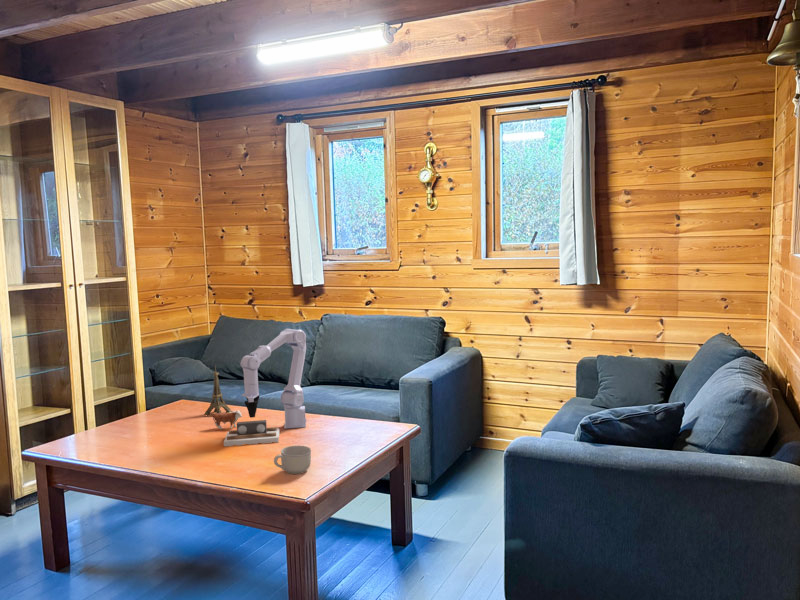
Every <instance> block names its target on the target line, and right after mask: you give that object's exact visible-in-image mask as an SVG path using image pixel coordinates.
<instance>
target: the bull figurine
mask: <svg viewBox="0 0 800 600" xmlns="http://www.w3.org/2000/svg"><path fill="white" fill-rule="evenodd" d="M239 418H243V415H242V412H241V410H239V409H238V410H232V412H229V413H226V412H221V413H217V412H214V414H213V415H212V420H213V421H214V424H215V426H216V427H217V429H220V430H223V429H224V428H223V427H222V425H221V422H222V423H223V424H224V425H226V423H229V424H230V427H229V429H231V428H237V427H236V426H237V424H236V423H237V422H238V421H239Z"/></svg>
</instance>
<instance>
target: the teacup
mask: <svg viewBox="0 0 800 600" xmlns="http://www.w3.org/2000/svg"><path fill="white" fill-rule="evenodd" d="M311 458H312V449H311V448H310V447H309V446H306V445H289V446H285V447H283V448H282V449H280V454H276V455H275V457H274V458H273V463H274V465H275V466H276V467H278V468H280V469H281V470H283V471H285V472H286V473H288V474H289V475H300V474H303V473H305V472H306V471H307V470H308V469H309V468H310V466H311V461H312V459H311ZM278 459H281V461H280V462H281V464H279V463H278Z"/></svg>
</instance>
